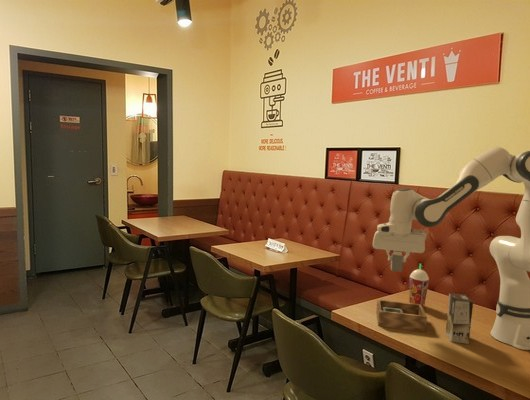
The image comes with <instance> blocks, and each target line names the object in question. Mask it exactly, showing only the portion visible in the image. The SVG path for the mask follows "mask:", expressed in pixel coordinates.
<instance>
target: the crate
mask: <svg viewBox="0 0 530 400" xmlns="http://www.w3.org/2000/svg"><path fill="white" fill-rule="evenodd" d="M375 313H376V319H377V326H379V327H387V328H394V329H395V328H396V329H402V330H410V331H411V330H412V331H417V332H426V330H427V320H428V318H427V315H426V312H425V310H424V307H422V306H421V304H413V303H410V302H403V301H393V300H383V299H376V311H375Z"/></svg>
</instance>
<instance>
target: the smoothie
mask: <svg viewBox="0 0 530 400" xmlns="http://www.w3.org/2000/svg"><path fill="white" fill-rule="evenodd" d="M418 266H419V267H418V268H417V269H415V270H413V271H412V272H411V273H410V274H409V296H408V298H409V299H408V301H409V302H408V303H413V304H421V306H422V308H424V306H425V305H426V298H427V294H428V286H429V283H430V282H429V280H430V277H429V275H428V274H427V272H426V271H425V270H423V269H422V263H419V265H418Z"/></svg>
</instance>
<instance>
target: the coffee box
mask: <svg viewBox="0 0 530 400" xmlns="http://www.w3.org/2000/svg"><path fill="white" fill-rule="evenodd" d="M473 307H474V301H473V300H472V299H471V298H470V297H469V296H468V295H467V294H466V293H465V294H464V293H451V292H450V293H448V302H447V313H446V326H445V333H446V335H447V337H448V338H449V340H450V341H451V342H453V343H459V344H466V345H469V343H470V335H471V325H472V317H473Z"/></svg>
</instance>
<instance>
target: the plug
mask: <svg viewBox="0 0 530 400" xmlns="http://www.w3.org/2000/svg"><path fill="white" fill-rule="evenodd" d="M402 253H403V251H394V250H393V252H391V256H392V261H390V270H391V271H392V272H401V273H402V272H403V263H404V262H403V257H404V255H403V254H402Z"/></svg>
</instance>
